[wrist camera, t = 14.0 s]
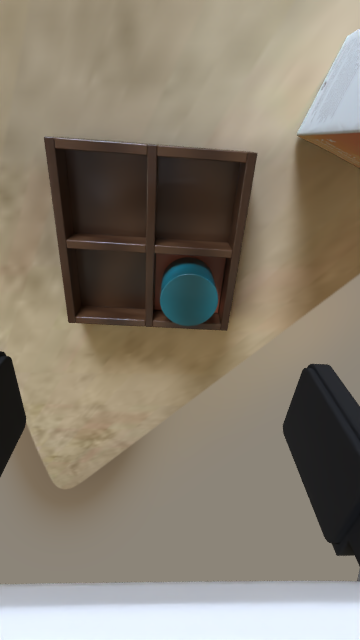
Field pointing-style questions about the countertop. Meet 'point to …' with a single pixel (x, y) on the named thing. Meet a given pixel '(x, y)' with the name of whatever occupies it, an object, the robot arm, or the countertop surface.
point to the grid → (144, 224)
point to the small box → (338, 106)
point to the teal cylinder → (188, 292)
